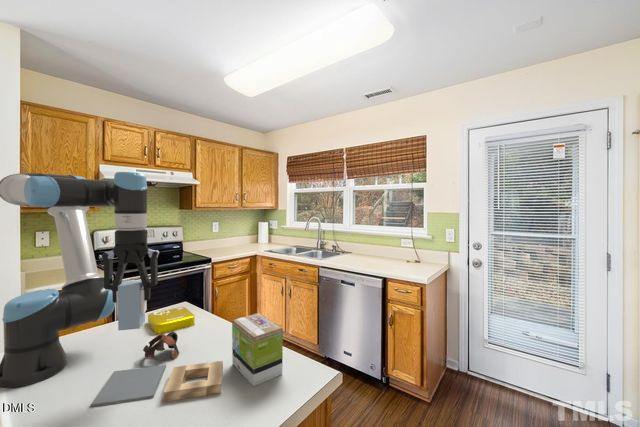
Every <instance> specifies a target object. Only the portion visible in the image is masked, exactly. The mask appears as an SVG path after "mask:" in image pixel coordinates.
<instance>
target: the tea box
mask: <svg viewBox="0 0 640 427" xmlns="http://www.w3.org/2000/svg"><path fill="white" fill-rule="evenodd" d="M231 324H232V325H231V326H232V327H231V330H232V333H231V336H232V338H231V339H232V341H231V345H232V347H231V349H232V350H231V351H232V357H231V358H232V360H231V362H232V364H233V365H234V367H235V368H236V369H237V370H238V371H239V372H240V373H241V374H242V375H243V377H244V378H246V380H247V381H248V382H249V383H250V384H251V385H252V386H253V387H256V386H258V385H261V384H262V383H265V382H268V381H270V380H273V379H274V378H276V377H278V376H280V375H283V367H284V366H283V357H284V356H283V352H284V349H283V347H284V346H283V344H284V343H283V342H284V340H283V339H284V336H283V334H284V333H283V332H284V331H283V330H284V328H283V327H282V326H280V325H279V324H278V323H276V322H274V321H273V320H271V319H270V318H268V317H267V316H265V315H264V314H262V313H260V312H258V313H253V314H250V315H246V316H242V317H239V318H236V319H232V320H231Z"/></svg>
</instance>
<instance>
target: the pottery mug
mask: <svg viewBox="0 0 640 427" xmlns="http://www.w3.org/2000/svg"><path fill="white" fill-rule="evenodd" d="M178 337H179V336H178V334H177V333H176V331H171V332H168V333H167V335H166V333H163V334H157V336H155V337H154V338H152V339H151V340H149V341H148V345H145V346H144V347H143V349H142V351H143V352H144V358H150V357H152V358H155V354H156V353H155V352H159V351H160V352H163V351H165V350H166V348H165V345H167V347H168V349H174V350H173V351H172V352H171V354H170V356H171V357H172V359H173V360H176V359H177V358H178V356H179V355H180V351H179V348H178V346H177V342H178Z"/></svg>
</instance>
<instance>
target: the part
mask: <svg viewBox="0 0 640 427" xmlns="http://www.w3.org/2000/svg"><path fill="white" fill-rule="evenodd" d="M142 288H143V284H142V281H141V279H140V280H124V281H123V282H121V284H120V285H119V286H118V315H117V327H118V329H117V330H118V331H128V330H129V331H130V330H140V328H141V327H142V326H143V324H144V323H145V321H146V311H145V312H144V313H142V314H141V289H142Z"/></svg>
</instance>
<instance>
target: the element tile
mask: <svg viewBox="0 0 640 427" xmlns="http://www.w3.org/2000/svg"><path fill="white" fill-rule="evenodd" d="M147 326H149V328H150V330H151V329H152V330H151V332H153V334H154V333H155V334H154V335H160V334H168V333H170V331H171V332H175V331H179V330H182V328H183V329H186V327H187V328H189V327H190V326H191V327H193V326H195V314H193V312H191V311H190V310H189V309H188V308H187V307H186V306H180V307H174V308H171V309H166V310H161V311H156V312H152V313H149V314H148V315H147ZM178 329H179V330H178ZM174 330H175V331H174Z"/></svg>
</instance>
